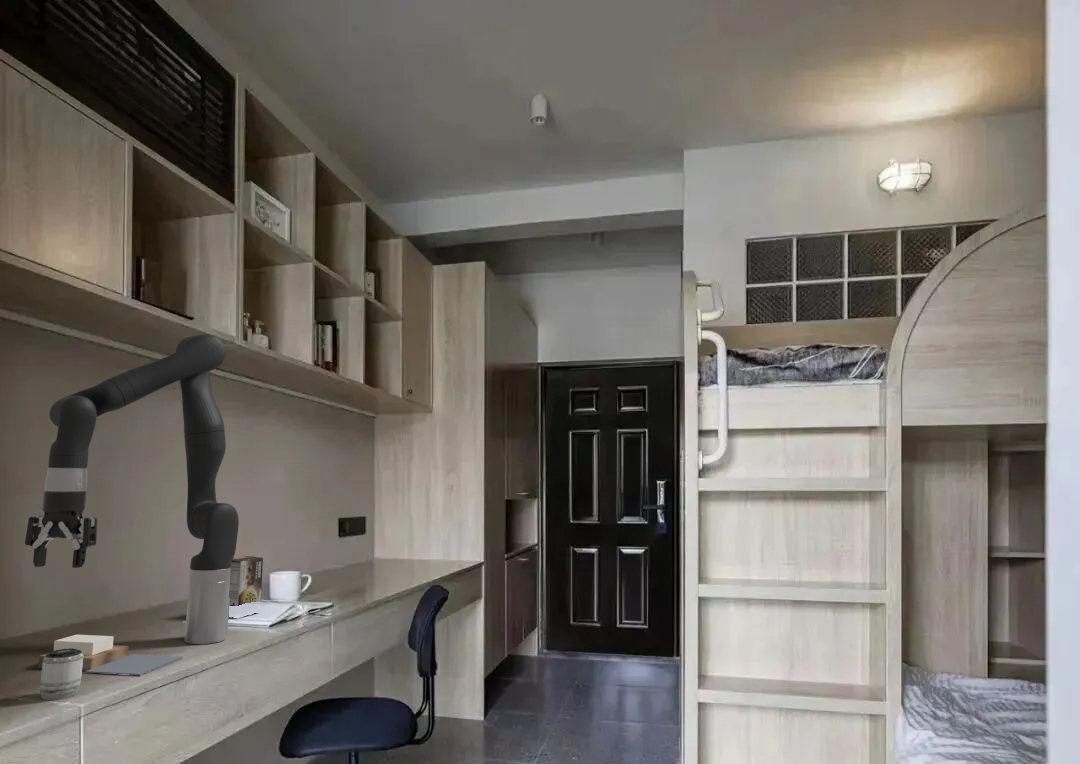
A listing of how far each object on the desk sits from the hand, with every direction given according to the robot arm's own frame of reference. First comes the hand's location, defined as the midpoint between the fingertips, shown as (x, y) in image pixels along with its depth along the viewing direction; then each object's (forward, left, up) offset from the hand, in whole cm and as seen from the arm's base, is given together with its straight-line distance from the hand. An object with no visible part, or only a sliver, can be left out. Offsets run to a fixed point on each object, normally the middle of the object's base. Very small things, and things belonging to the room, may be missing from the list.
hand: (58, 566), depth 149 cm
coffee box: (-59, +9, -21) cm, 63 cm away
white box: (-5, +3, -18) cm, 19 cm away
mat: (-5, +16, -21) cm, 26 cm away
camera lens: (+15, +16, -21) cm, 30 cm away
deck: (-5, +4, -21) cm, 22 cm away
